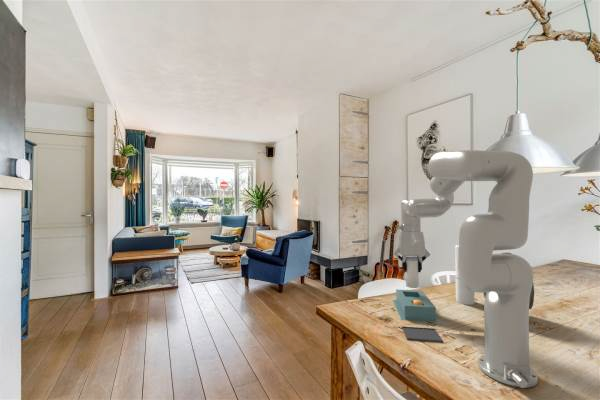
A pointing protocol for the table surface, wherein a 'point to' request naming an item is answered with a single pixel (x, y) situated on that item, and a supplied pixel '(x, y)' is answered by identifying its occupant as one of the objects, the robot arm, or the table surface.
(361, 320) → the table surface
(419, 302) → the orange egg shape
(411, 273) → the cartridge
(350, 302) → the table surface
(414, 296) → the teal hollow block
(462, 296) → the cylindrical container
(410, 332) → the mat
